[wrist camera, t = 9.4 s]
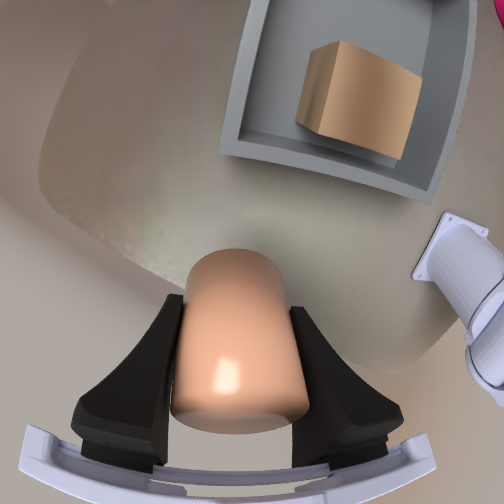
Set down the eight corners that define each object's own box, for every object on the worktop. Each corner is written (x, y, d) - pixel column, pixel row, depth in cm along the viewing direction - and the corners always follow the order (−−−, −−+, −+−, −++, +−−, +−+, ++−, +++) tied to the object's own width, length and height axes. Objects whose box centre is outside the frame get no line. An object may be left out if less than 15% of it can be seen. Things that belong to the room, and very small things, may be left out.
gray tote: (436, -2, 9) (476, -7, 5) (394, 177, 19) (430, 205, 15) (273, -72, 7) (286, -105, 3) (221, 136, 17) (217, 153, 13)
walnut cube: (379, 75, 14) (422, 78, 10) (362, 139, 17) (399, 159, 12) (311, 50, 13) (340, 40, 9) (294, 120, 16) (317, 133, 12)
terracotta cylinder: (293, 255, 13) (332, 384, 8) (269, 323, 16) (285, 433, 10) (189, 242, 12) (165, 378, 7) (185, 315, 15) (173, 429, 9)
